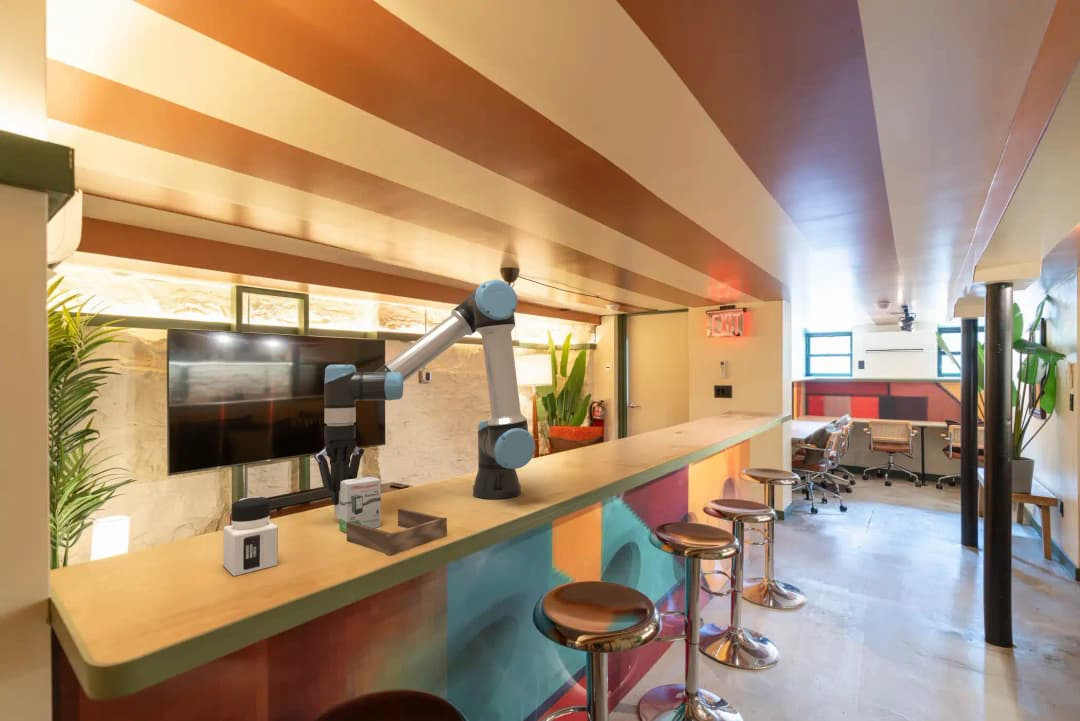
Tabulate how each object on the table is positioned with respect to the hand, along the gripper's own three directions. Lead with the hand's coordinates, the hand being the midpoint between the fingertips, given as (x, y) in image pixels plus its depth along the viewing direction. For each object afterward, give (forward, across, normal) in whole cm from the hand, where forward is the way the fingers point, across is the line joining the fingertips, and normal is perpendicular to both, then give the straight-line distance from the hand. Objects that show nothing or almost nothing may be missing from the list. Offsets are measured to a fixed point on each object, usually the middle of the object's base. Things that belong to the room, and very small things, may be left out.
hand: (339, 516), depth 126 cm
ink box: (+2, 0, +9) cm, 9 cm away
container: (+2, +27, +13) cm, 30 cm away
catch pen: (+1, 0, +23) cm, 23 cm away
